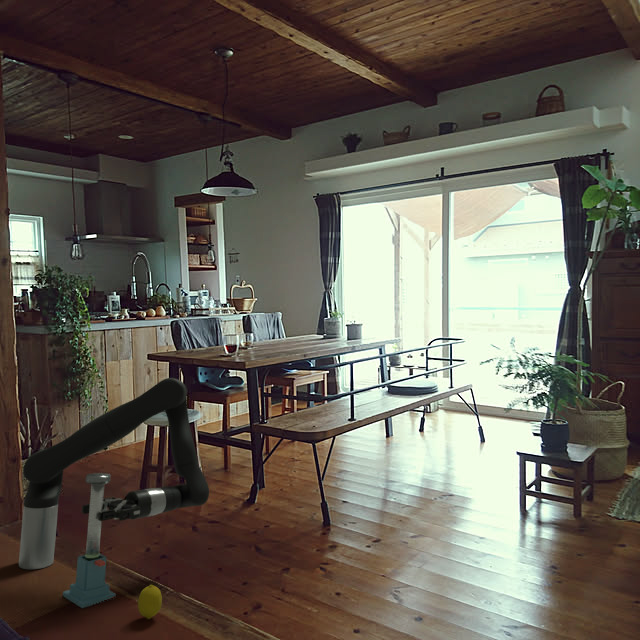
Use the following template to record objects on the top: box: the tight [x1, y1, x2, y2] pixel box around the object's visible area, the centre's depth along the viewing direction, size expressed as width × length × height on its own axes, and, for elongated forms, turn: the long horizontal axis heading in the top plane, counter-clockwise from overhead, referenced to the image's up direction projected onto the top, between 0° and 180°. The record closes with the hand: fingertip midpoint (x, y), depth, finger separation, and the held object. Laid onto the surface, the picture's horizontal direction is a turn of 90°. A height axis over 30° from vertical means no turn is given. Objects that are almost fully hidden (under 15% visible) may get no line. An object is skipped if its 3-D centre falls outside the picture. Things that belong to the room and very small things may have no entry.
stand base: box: [62, 553, 117, 609], centre depth 146 cm, size 10×9×10 cm
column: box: [84, 472, 111, 561], centre depth 147 cm, size 6×6×24 cm
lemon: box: [137, 584, 163, 620], centre depth 136 cm, size 6×6×8 cm
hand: (90, 513), depth 146 cm, fingers open, 8 cm apart
